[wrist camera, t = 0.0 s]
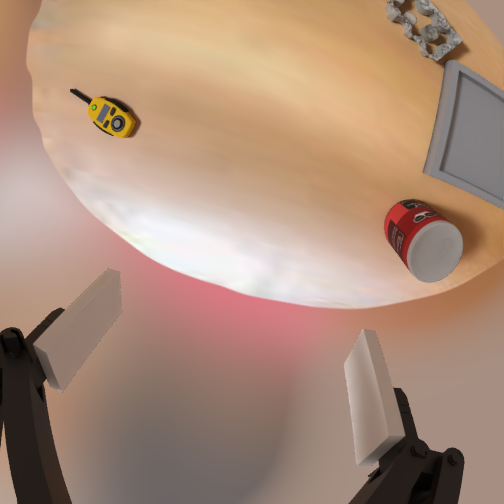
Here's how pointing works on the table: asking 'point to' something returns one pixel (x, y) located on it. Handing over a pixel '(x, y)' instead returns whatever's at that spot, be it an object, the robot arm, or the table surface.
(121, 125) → the yellow walkie talkie
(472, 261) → the table surface
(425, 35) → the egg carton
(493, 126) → the tray
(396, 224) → the canned food
